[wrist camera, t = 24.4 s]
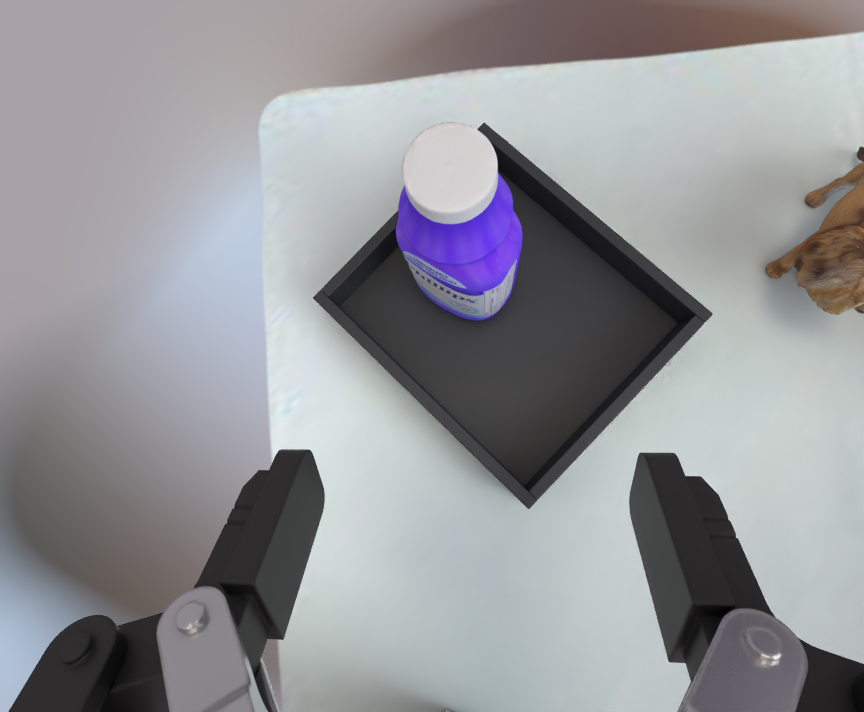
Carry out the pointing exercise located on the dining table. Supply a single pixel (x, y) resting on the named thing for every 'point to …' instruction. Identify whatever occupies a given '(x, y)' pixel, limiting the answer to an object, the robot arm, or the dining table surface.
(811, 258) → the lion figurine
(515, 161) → the shallow square tray
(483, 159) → the bottle
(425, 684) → the dining table surface
